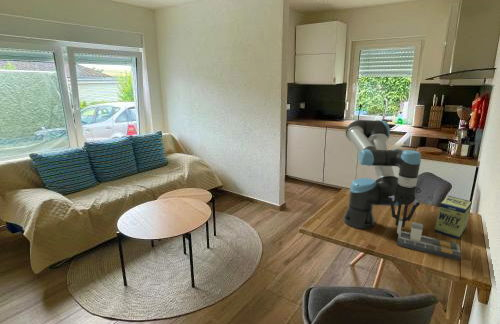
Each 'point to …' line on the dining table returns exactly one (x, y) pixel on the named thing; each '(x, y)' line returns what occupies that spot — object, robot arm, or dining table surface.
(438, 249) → the console board
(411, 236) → the fader knob
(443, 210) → the protein box
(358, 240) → the dining table surface
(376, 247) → the dining table surface
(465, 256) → the dining table surface
